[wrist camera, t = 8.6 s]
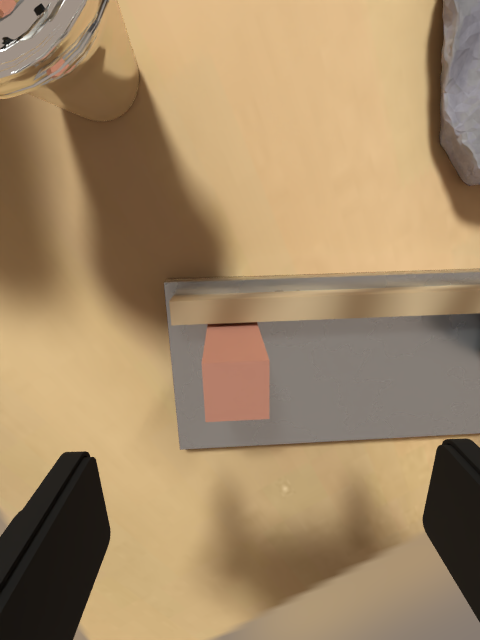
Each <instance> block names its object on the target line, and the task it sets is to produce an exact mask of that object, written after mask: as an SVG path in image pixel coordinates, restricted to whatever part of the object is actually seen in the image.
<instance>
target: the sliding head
mask: <svg viewBox="0 0 480 640" xmlns="http://www.w3.org/2000/svg"><path fill="white" fill-rule="evenodd" d="M202 378H203V392H204V407H205V422H220V421H240V420H259V419H269V380H270V360H269V357H268V354H267V351H266V348H265V345H264V342H263V339H262V336H261V333H260V330H259V327H258V324H257V322H245V323H220V324H208V325H207V331H206V338H205V344H204V351H203V357H202Z"/></svg>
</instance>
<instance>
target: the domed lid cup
mask: <svg viewBox="0 0 480 640" xmlns="http://www.w3.org/2000/svg"><path fill="white" fill-rule="evenodd" d="M138 85H139V72H138V65H137V62H136V59H135V56H134V52H133V49H132V46H131V42H130V39H129V36H128V33H127V29H126V26H125V23H124V20H123V16H122V13H121V10H120V7H119V3H118V0H0V99H8V98H12V97H16V96H19V95H22V94H25V93H27V94H29V95H32V96H34V97H36V98H39V99H41V100H43V101H46V102H48V103H50V104H53V105H55V106H57V107H60V108H62V109H64V110H67V111H69V112H71V113H74V114H77V115H79V116H82V117H83V118H86V119H89V120H92V121H98V122H103V121H110V120H113V119H116V118H118V117H120V116H121V115H123V114H124V113H125V112H126V111H127V110H128V109H129V108H130V106H131V105H132V103H133V102H134V99H135V97H136V95H137V90H138Z"/></svg>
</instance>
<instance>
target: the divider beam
mask: <svg viewBox="0 0 480 640" xmlns="http://www.w3.org/2000/svg"><path fill="white" fill-rule="evenodd" d="M169 305H170V316H171V325H195V324H220V323H245V322H271V321H296V320H322V319H347V318H373V317H398V316H424V315H449V314H474V313H480V284H477V285H449V286H421V287H393V288H365V289H337V290H308V291H280V292H252V293H224V294H196V295H173V297H172V298H171V300H170V301H169Z"/></svg>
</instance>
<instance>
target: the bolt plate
mask: <svg viewBox="0 0 480 640" xmlns="http://www.w3.org/2000/svg"><path fill="white" fill-rule="evenodd" d="M477 284H480V269H452V270H422V271H392V272H363V273H333V274H303V275H274V276H244V277H214V278H184V279H167V280H166V281H165V282H164V289H165V299H166V310H167V320H168V330H169V341H170V351H171V361H172V371H173V382H174V392H175V402H176V413H177V423H178V433H179V444H180V450H181V449H199V448H218V447H236V446H254V445H273V444H291V443H310V442H328V441H346V440H365V439H383V438H401V437H420V436H438V435H457V434H475V433H480V313H474V314H449V315H424V316H398V317H373V318H347V319H322V320H296V321H271V322H257V324H258V327H259V330H260V333H261V336H262V339H263V342H264V345H265V348H266V351H267V354H268V357H269V360H270V380H269V419H259V420H240V421H220V422H205V407H204V392H203V378H202V357H203V351H204V344H205V338H206V331H207V325H208V324H195V325H171V316H170V305H169V301H170V300H171V298H172V297H173V295H196V294H224V293H252V292H280V291H308V290H337V289H365V288H393V287H421V286H449V285H477Z"/></svg>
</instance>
